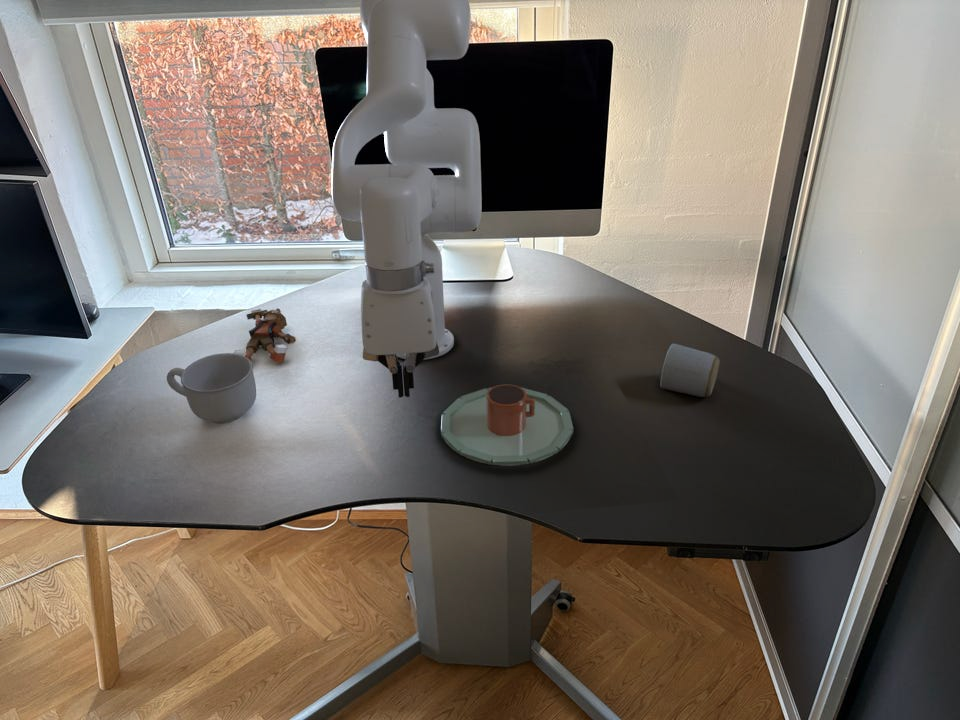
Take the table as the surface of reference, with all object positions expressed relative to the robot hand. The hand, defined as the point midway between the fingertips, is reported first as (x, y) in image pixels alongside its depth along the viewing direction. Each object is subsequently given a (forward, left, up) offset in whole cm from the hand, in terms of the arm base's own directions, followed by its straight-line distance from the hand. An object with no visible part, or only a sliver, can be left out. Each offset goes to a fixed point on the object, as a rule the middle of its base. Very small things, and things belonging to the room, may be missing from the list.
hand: (404, 392), depth 105 cm
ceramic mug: (+33, +35, -9) cm, 49 cm away
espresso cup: (+12, +9, -7) cm, 17 cm away
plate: (+12, +9, -9) cm, 17 cm away
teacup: (-32, -7, -9) cm, 34 cm away
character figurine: (-41, +14, -9) cm, 44 cm away
